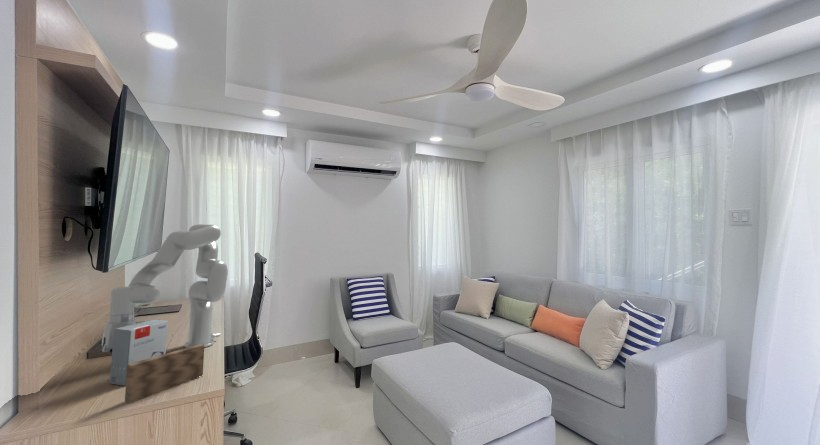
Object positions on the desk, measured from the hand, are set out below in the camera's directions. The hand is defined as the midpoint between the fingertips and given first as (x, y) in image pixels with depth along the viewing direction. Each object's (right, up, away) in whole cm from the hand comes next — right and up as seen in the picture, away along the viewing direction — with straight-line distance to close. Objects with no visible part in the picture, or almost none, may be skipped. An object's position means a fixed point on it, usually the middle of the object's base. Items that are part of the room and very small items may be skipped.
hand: (118, 363), depth 132 cm
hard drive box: (+14, -3, -7) cm, 15 cm away
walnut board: (+31, -2, -15) cm, 34 cm away
